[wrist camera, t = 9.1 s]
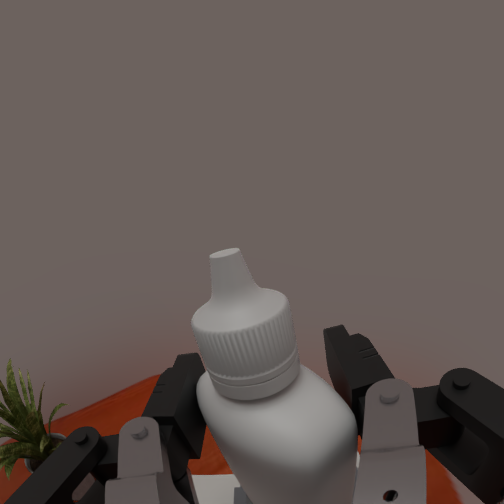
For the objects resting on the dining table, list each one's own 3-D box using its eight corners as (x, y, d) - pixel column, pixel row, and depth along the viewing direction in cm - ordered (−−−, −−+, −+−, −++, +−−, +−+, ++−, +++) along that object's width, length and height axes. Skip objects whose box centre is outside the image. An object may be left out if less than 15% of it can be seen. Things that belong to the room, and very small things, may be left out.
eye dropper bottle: (318, 445, 12) (281, 221, 9) (359, 522, 6) (382, 251, 4) (240, 468, 11) (154, 253, 9) (259, 552, 6) (91, 327, 3)
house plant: (28, 461, 19) (-41, 365, 15) (98, 430, 28) (38, 330, 24) (46, 535, 8) (-67, 428, 5) (138, 498, 17) (40, 383, 14)
